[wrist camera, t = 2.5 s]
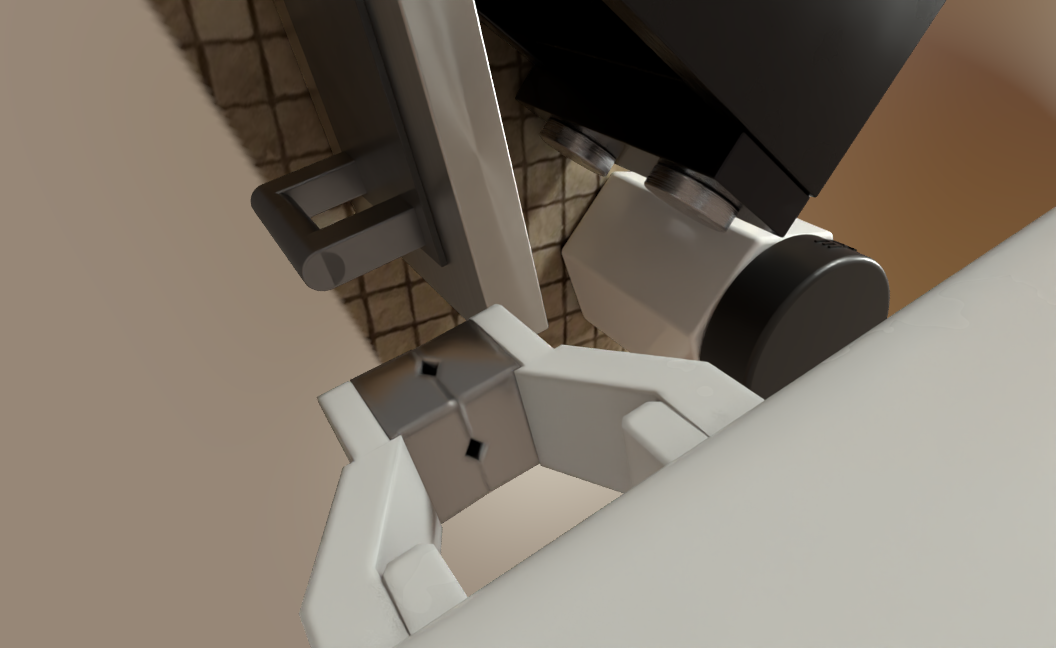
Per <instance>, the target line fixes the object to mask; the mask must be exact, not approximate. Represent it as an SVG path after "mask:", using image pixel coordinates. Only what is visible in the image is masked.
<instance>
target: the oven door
mask: <svg viewBox="0 0 1056 648" xmlns="http://www.w3.org/2000/svg"><path fill="white" fill-rule="evenodd" d="M273 1H274V4H275V7H276V9H277V12H278V14H279V17H280V19H281V22H282V24H283V27H284V30H285V32H286V35H287V37H288V40H289V42H290V45H291V47H292V50H293V53H294V55H295V58H296V60H297V63H298V65H299V68H300V70H301V73H302V76H303V78H304V81H305V83H306V86H307V88H308V91H309V94H310V96H311V99H312V101H313V104H314V106H315V109H316V111H317V114H318V117H319V119H320V122H321V124H322V127H323V129H324V132H325V134H326V137H327V140H328V142H329V145H330V147H331V150H332V152H333V156H331V157H328V158H326V159H323V160H321V161H319V162H316V163H314V164H311V165H309V166H306V167H304V168H301V169H299V170H296V171H294V172H291V173H289V174H287V175H284V176H282V177H279V178H277V179H274V180H272V181H269V182H267V183H265V184H262V185H260V186H258V187H257V188H256V189H255V190H254V192H253V193H252V196H251V206H252V208H253V210H254V211H255V213H256V214H257V216H258V217H259V219H260V220H261V221H262V223H263V224H264V226H265V227H266V228H267V230H268V231H269V233H270V234H271V236H272V237H273V238H274V240H275V241H276V243H277V244H278V245H279V247H280V248H281V250H282V251H283V253H284V254H285V255H286V257H287V258H288V260H289V261H290V262H291V264H292V265H293V267H294V268H295V270H296V271H297V272H298V274H299V275H300V277H301V278H302V279H303V281H304V282H305V284H306V285H307V286H308V287H310V288H312V289H314V290H317V291H328V290H331V289H333V288H336V287H338V286H340V285H342V284H344V283H346V282H348V281H351V280H353V279H355V278H357V277H359V276H361V275H363V274H365V273H368V272H370V271H372V270H374V269H376V268H378V267H380V266H382V265H385V264H387V263H389V262H391V261H393V260H395V259H397V258H399V257H402V258H403V259H404V260H405V261H406V262H407V263H408V264H409V265H410V266H411V267H412V268H413V269H414V270H415V271H416V272H417V273H418V274H419V275H420V276H421V277H422V278H423V279H424V280H425V281H426V282H427V283H428V284H429V285H431V286H432V287H433V288H434V289H435V290H436V291H437V292H438V293H439V294H440V295H441V296H442V297H443V298H444V299H445V300H446V301H447V302H448V303H449V304H450V305H451V306H452V307H453V308H454V309H455V310H456V311H457V312H458V313H459V314H461V315H462V316H463V317H464V318H465V319H466V320H467V321H468V319H469V318H471V317H473V316H475V315H476V314H478V313H480V312H482V311H484V310H485V309H487V308H489V307H491V306H492V305H494V304H499V305H502V306H503V307H504V308H506V309H507V310H508V311H509V312H510V313H512V314H513V315H514V316H515V317H516V318H518V319H519V320H520V321H521V322H522V323H524V324H525V325H526V326H527V327H528V328H530V329H531V330H532V331H533V332H534V333H536V334H539V333H541V332H543V331H545V330H546V329H548V327H549V326H548V322H547V317H546V313H545V308H544V304H543V300H542V295H541V291H540V286H539V282H538V278H537V273H536V269H535V265H534V260H533V256H532V251H531V247H530V243H529V238H528V234H527V230H526V225H525V221H524V216H523V212H522V208H521V203H520V199H519V194H518V190H517V186H516V181H515V177H514V173H513V168H512V164H511V159H510V155H509V151H508V146H507V142H506V138H505V133H504V129H503V124H502V120H501V116H500V111H499V107H498V102H497V98H496V94H495V89H494V85H493V81H492V76H491V72H490V67H489V63H488V59H487V54H486V50H485V46H484V41H483V37H482V32H481V28H480V24H479V19H478V15H477V10H476V6H475V2H474V0H273ZM349 200H351V201H352V203H353V206H354V209H355V211H356V214H354V215H352V216H350V217H347V218H345V219H343V220H340V221H338V222H336V223H334V224H331V225H329V226H327V227H324V228H322V229H319V228H318V226H317V225H316V224H315V223H314V222H313V221H312V220H311V218H310V217H312V216H315V215H317V214H319V213H322V212H324V211H326V210H329V209H331V208H333V207H336V206H338V205H340V204H342V203H345V202H347V201H349Z"/></svg>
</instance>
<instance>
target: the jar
mask: <svg viewBox="0 0 1056 648" xmlns="http://www.w3.org/2000/svg"><path fill="white" fill-rule="evenodd" d="M646 179H647V178H646V177H644V176H641V175H639V174H637V173H635V172H632V171H625V172H613V173H612V174H611V175H610V177H609V178H608V180H607V181H606V183H605V184H604V186H603V187H602V189H601V190H600V192H599V193H598V195H597V197H596V198H595V200H594V201H593V203H592V204H591V206H590V207H589V209H588V210H587V212H586V213H585V215H584V216H583V218H582V219H581V221H580V223H579V224H578V226H577V227H576V229H575V230H574V232H573V233H572V235H571V236H570V238H569V239H568V241H567V242H566V244H565V245H564V247H563V249H562V256H563V259H564V262H565V265H566V268H567V271H568V274H569V276H570V279H571V282H572V285H573V288H574V291H575V294H576V297H577V299H578V302H579V305H580V308H581V311H582V314H583V316H584V318H585V319H586V320H587V321H589V322H590V323H591V324H593V325H594V326H595V327H597V328H598V329H599V330H600V331H602V332H603V333H604V334H606V335H607V336H608V337H610V338H611V339H612V340H614V341H615V342H616V343H618V344H619V345H620V346H622V347H623V348H624V349H626V350H627V351H628V352H630V353H636V354H645V355H653V356H662V357H670V358H678V359H687V360H695V361H704V362H709V363H710V364H712V365H713V366H715V367H716V368H718V369H719V370H721V371H722V372H724V373H725V374H727V375H728V376H730V377H731V378H733V379H734V380H736V381H737V382H739V383H740V384H742V385H743V386H745V387H746V388H748V389H749V390H751V391H752V392H754V393H755V394H757V395H758V396H759V397H761V398H762V399H764V400H766V399H767V398H769V397H770V396H772V395H773V394H775V393H776V392H778V391H779V390H781V389H782V388H784V387H785V386H787V385H789V384H790V383H791V382H793V381H794V380H796V379H797V378H799V377H800V376H802V375H803V374H805V373H806V372H808V371H809V370H811V369H812V368H814V367H815V366H817V365H818V364H820V363H821V362H823V361H824V360H826V359H827V358H829V357H830V356H832V355H833V354H835V353H836V352H838V351H839V350H841V349H842V348H844V347H845V346H847V345H848V344H850V343H851V342H853V341H854V340H856V339H857V338H859V337H860V336H862V335H863V334H865V333H866V332H868V331H869V330H871V329H872V328H874V327H875V326H877V325H878V324H880V323H881V322H883V321H884V320H886V319H887V315H888V310H889V299H890V290H889V283H888V279H887V277H886V274H885V272H884V270H883V269H882V267H881V266H880V265H879V264H878V263H877V262H876V261H875V260H873V259H871V258H870V257H867V256H865V255H862V254H860V253H858V252H857V250H856V249H854V248H851V247H849V246H847V245H844V244H842V243H839V242H837V241H834V240H833V235H832V233H830V232H829V231H827V230H824V229H822V228H819V227H817V226H814V225H812V224H810V223H807V222H804V221H802V220H800V219H797V218H796V220H795V221H794V223H793V224H792V226H791V227H790V229H789V230H788V232H787V233H786V235H785V236H784V237H783V238H781V237H778V236H776V235H774V234H772V233H770V232H767V231H765V230H763V229H761V228H758V227H756V226H754V225H752V224H749V223H747V222H745V221H743V220H740V219H738V218H735V219H734V221H733V222H732V224H731V225H730V227H729V228H728V230H727V231H726V232H725V233H723V232H719V231H716V230H713V229H711V228H709V227H707V226H705V225H703V224H701V223H699V222H697V221H695V220H693V219H691V218H690V217H688V216H686V215H684V214H683V213H681V212H679V211H678V210H676V209H674V208H673V207H671V206H670V205H668V204H667V203H665V202H664V201H662V200H661V199H659V198H658V197H656V196H655V195H654V194H653V193H651V192H650V191H649V190H648V189H647V188H646V187H645V186H644V182H645V180H646Z"/></svg>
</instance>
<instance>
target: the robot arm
mask: <svg viewBox="0 0 1056 648" xmlns="http://www.w3.org/2000/svg"><path fill="white" fill-rule="evenodd" d="M317 399H318V402H319V404H320V406H321V408H322V410H323V412H324V414H325V416H326V418H327V420H328V422H329V423H330V425H331V427H332V429H333V431H334V433H335V434H336V437H337V439H338V441H339V442H340V444H341V446H342V448H343V450H344V452H345V454H346V456H347V457H348V460H349V461H350V464H348V465H346V466H345V467H343V469H342V472H341V475H340V479H339V482H338V485H337V489H336V492H335V495H334V499H333V502H332V506H331V509H330V512H329V515H328V519H327V522H326V526H325V529H324V532H323V536H322V539H321V543H320V546H319V549H318V552H317V556H316V559H315V563H314V566H313V569H312V573H311V576H310V579H309V583H308V586H307V589H306V593H305V596H304V599H303V602H302V606H301V609H300V612H299V616H300V618H301V621H302V624H303V627H304V630H305V633H306V635H307V638H308V641H309V644H310V647H311V648H1056V207H1054V208H1053V209H1051V210H1050V211H1048V212H1047V213H1045V214H1044V215H1042V216H1041V217H1039V218H1038V219H1036V220H1035V221H1033V222H1032V223H1030V224H1029V225H1027V226H1026V227H1024V228H1023V229H1021V230H1020V231H1018V232H1017V233H1015V234H1014V235H1012V236H1011V237H1009V238H1008V239H1006V240H1005V241H1003V242H1002V243H1000V244H999V245H997V246H996V247H994V248H993V249H991V250H990V251H988V252H987V253H985V254H984V255H982V256H981V257H979V258H978V259H976V260H975V261H973V262H972V263H970V264H969V265H967V266H966V267H964V268H963V269H961V270H960V271H958V272H957V273H955V274H954V275H952V276H950V277H949V278H947V279H946V280H945V281H943V282H942V283H940V284H938V285H937V286H935V287H934V288H932V289H931V290H929V291H928V292H927V293H925V294H923V295H922V296H920V297H919V298H917V299H916V300H914V301H913V302H911V303H910V304H908V305H907V306H905V307H904V308H902V309H901V310H899V311H898V312H896V313H895V314H893V315H892V316H890V317H889V318H887V319H886V320H884V321H883V322H881V323H880V324H878V325H877V326H875V327H874V328H872V329H871V330H869V331H868V332H866V333H865V334H863V335H862V336H860V337H859V338H857V339H856V340H854V341H853V342H851V343H850V344H848V345H847V346H845V347H844V348H842V349H841V350H839V351H838V352H836V353H835V354H833V355H832V356H830V357H829V358H827V359H826V360H824V361H823V362H821V363H820V364H818V365H817V366H815V367H814V368H812V369H811V370H809V371H808V372H806V373H805V374H803V375H802V376H800V377H799V378H797V379H796V380H794V381H793V382H791V383H790V384H789V385H787V386H785V387H784V388H782V389H781V390H779V391H778V392H776V393H775V394H773V395H772V396H770V397H769V398H767V399H766V400H764V399H762V398H761V397H759V396H758V395H757V394H755V393H754V392H752V391H751V390H749V389H748V388H746V387H745V386H743V385H742V384H740V383H739V382H737V381H736V380H734V379H733V378H731V377H730V376H728V375H727V374H725V373H724V372H722V371H721V370H719V369H718V368H716V367H715V366H713V365H712V364H710V363H709V362H704V361H695V360H687V359H678V358H670V357H662V356H653V355H645V354H636V353H628V352H620V351H611V350H603V349H594V348H586V347H578V346H569V345H560V346H559V347H557V348H555V349H554V348H552V347H551V346H550V345H549V344H548V343H546V342H545V341H544V340H543V339H542V338H540V337H539V336H538V335H537V334H536V333H534V332H533V331H532V330H531V329H530V328H528V327H527V326H526V325H525V324H524V323H522V322H521V321H520V320H519V319H518V318H516V317H515V316H514V315H513V314H512V313H510V312H509V311H508V310H507V309H506V308H504V307H503V306H502V305H499V304H494V305H492V306H491V307H489V308H487V309H485V310H484V311H482V312H480V313H478V314H476V315H475V316H473V317H471V318H469V319H468V321H466V322H464V323H462V324H460V325H458V326H456V327H454V328H453V329H451V330H449V331H447V332H445V333H443V334H441V335H439V336H438V337H436V338H434V339H432V340H430V341H428V342H426V343H424V344H423V345H421V346H419V347H417V348H415V349H413V350H410V351H408V352H406V353H404V354H402V355H400V356H398V357H396V358H393V359H391V360H389V361H387V362H385V363H383V364H381V365H379V366H377V367H375V368H373V369H371V370H369V371H367V372H365V373H363V374H361V375H359V376H357V377H355V378H353V379H351V380H350V382H349V381H347V382H345V383H343V384H341V385H340V386H337V387H335V388H334V389H332V390H330V391H328V392H326V393H324V394H322V395H320V396H318V397H317ZM538 464H541V466H543V467H546V468H549V469H552V470H555V471H558V472H562V473H564V474H567V475H570V476H573V477H576V478H580V479H582V480H585V481H589V482H591V483H594V484H597V485H601V486H603V487H606V488H609V489H612V490H615V491H619V492H621V493H624V494H623V495H621V496H620V497H618V498H616V499H615V500H613V501H612V502H611V503H609V504H607V505H606V506H604V507H603V508H601V509H600V510H599V511H597V512H595V513H594V514H592V515H591V516H590V517H588V518H586V519H585V520H583V521H582V522H580V523H579V524H577V525H576V526H574V527H573V528H571V529H570V530H569V531H567V532H565V533H564V534H562V535H561V536H559V537H558V538H556V539H555V540H553V541H552V542H550V543H549V544H548V545H546V546H544V547H543V548H542V549H540V550H538V551H537V552H536V553H534V554H532V555H531V556H529V557H528V558H526V559H525V560H523V561H522V562H520V563H519V564H517V565H516V566H514V567H513V568H511V569H510V570H508V571H507V572H505V573H504V574H502V575H501V576H499V577H498V578H496V579H495V580H493V581H492V582H490V583H489V584H487V585H486V586H484V587H483V588H481V589H480V590H478V591H477V592H475V593H474V594H472V595H471V596H469V597H467V596H466V594H465V593H464V591H463V589H462V588H461V586H460V585H459V583H458V582H457V580H456V578H455V577H454V576H453V574H452V572H451V571H450V569H449V567H448V566H447V564H446V563H445V561H444V560H443V558H442V557H441V542H442V526H441V524H442V523H444V522H445V521H447V520H448V519H450V518H451V517H453V516H455V515H456V514H457V513H459V512H461V511H462V510H464V509H465V508H467V507H468V506H470V505H471V504H473V503H474V502H476V501H477V500H479V499H480V498H482V497H484V496H485V495H487V494H488V493H489V492H491V491H493V490H495V489H497V488H498V487H500V486H502V485H503V484H505V483H507V482H509V481H510V480H512V479H514V478H515V477H517V476H519V475H521V474H522V473H524V472H526V471H528V470H529V469H531V468H533V467H534V466H536V465H538Z"/></svg>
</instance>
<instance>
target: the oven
mask: <svg viewBox="0 0 1056 648" xmlns="http://www.w3.org/2000/svg"><path fill="white" fill-rule="evenodd" d="M474 2H475V6H476V10H477V15H478V19H479V20H480V21H481V22H482V23H484V24H485V25H486V26H487V27H489V28H490V29H491V30H492V31H494V32H495V33H496V34H497V35H499V36H500V37H501V38H502V39H503V40H505V41H506V42H507V43H508V44H510V45H511V46H512V47H513V48H515V49H516V50H517V51H518V52H520V53H521V54H522V55H523V56H524V57H526V58H527V59H528V60H529V61H531V62H532V63H533V64H534V66H533V67H532V69H531V71H530V73H529V74H528V76H527V78H526V80H525V81H524V83H523V85H522V86H521V88H520V90H519V92H518V93H517V95H516V97H515V99H516V100H517V101H518V102H520V103H521V104H522V105H524V106H525V107H526V108H528V109H529V110H530V111H532V112H533V113H534V114H536V115H537V116H538V117H540V118H541V119H543V120H544V121H545V122H546V124H545V126H544V127H543V129H542V131H541V132H540V134H539V136H540V138H541V139H542V140H543V141H544V142H546V143H547V144H548V145H550V146H551V147H552V148H554V149H555V150H557V151H558V152H560V153H561V154H563V155H564V156H566V157H567V158H569V159H571V160H572V161H574V162H576V163H577V164H579V165H581V166H582V167H584V168H586V169H588V170H590V171H592V172H594V173H596V174H598V175H600V176H604V177H605V176H606V175H607V174H608V172H609V171H610V169H611V167H612V166H613V164H617V165H619V166H621V167H623V168H626V169H628V170H630V171H632V172H635V173H637V174H639V175H641V176H644V177H646V178H647V179H646V180H645V182H644V186H645V187H646V188H647V189H648V190H649V191H650V192H651V193H653V194H654V195H655V196H656V197H658V198H659V199H661V200H662V201H664V202H665V203H667V204H668V205H670V206H671V207H673V208H674V209H676V210H678V211H679V212H681V213H683V214H684V215H686V216H688V217H690V218H691V219H693V220H695V221H697V222H699V223H701V224H703V225H705V226H707V227H709V228H711V229H713V230H716V231H719V232H723V233H725V232H726V231H727V230H728V228H729V227H730V225H731V224H732V222H733V221H734V219H735V218H738V219H740V220H743V221H745V222H747V223H749V224H752V225H754V226H756V227H758V228H761V229H763V230H765V231H767V232H770V233H772V234H774V235H776V236H778V237H781V238H783V237H784V236H785V235H786V233H787V232H788V230H789V229H790V227H791V226H792V224H793V223H794V221H795V220H796V218H797V217H798V215H799V213H800V212H801V211H802V209H803V208H804V206H805V205H806V203H807V201H808V200H809V198H810V197H809V196H812V197H817V196H818V194H819V193H820V191H821V189H822V188H823V187H824V185H825V184H826V182H827V180H828V179H829V177H830V176H831V175H832V173H833V171H834V170H835V168H836V167H837V165H838V164H839V162H840V161H841V159H842V158H843V156H844V155H845V153H846V152H847V150H848V149H849V147H850V146H851V144H852V143H853V141H854V139H855V138H856V137H857V135H858V134H859V132H860V131H861V129H862V127H863V126H864V124H865V123H866V121H867V120H868V118H869V117H870V115H871V114H872V112H873V111H874V109H875V107H876V106H877V105H878V103H879V102H880V100H881V99H882V97H883V96H884V94H885V93H886V91H887V90H888V88H889V87H890V85H891V83H892V82H893V80H894V79H895V77H896V76H897V74H898V73H899V71H900V70H901V68H902V67H903V65H904V64H905V62H906V61H907V59H908V58H909V56H910V55H911V53H912V52H913V50H914V48H915V47H916V46H917V44H918V42H919V41H920V39H921V38H922V36H923V35H924V33H925V32H926V30H927V29H928V27H929V26H930V24H931V23H932V21H933V20H934V18H935V17H936V15H937V14H938V12H939V11H940V9H941V8H942V6H943V5H944V3H945V2H946V0H474Z"/></svg>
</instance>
